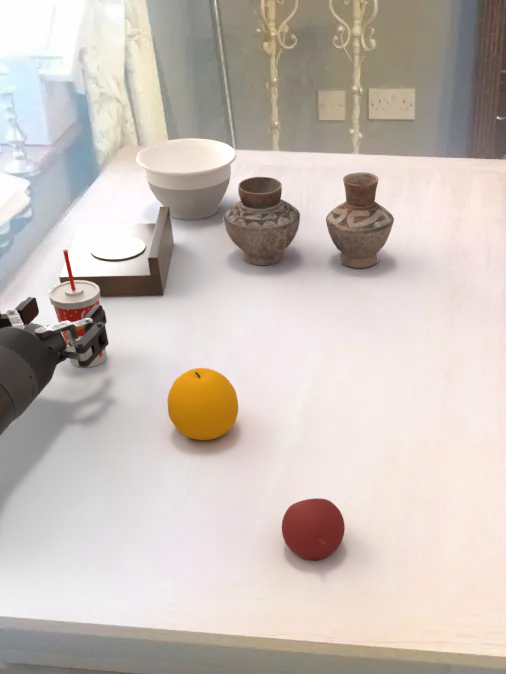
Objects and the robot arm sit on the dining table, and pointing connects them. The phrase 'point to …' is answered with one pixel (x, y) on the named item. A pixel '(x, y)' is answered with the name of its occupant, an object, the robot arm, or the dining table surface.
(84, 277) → the shelf
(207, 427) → the apple
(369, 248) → the pottery
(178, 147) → the bowl
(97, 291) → the beverage cup
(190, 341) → the dining table surface
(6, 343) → the robot arm
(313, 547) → the fruit
